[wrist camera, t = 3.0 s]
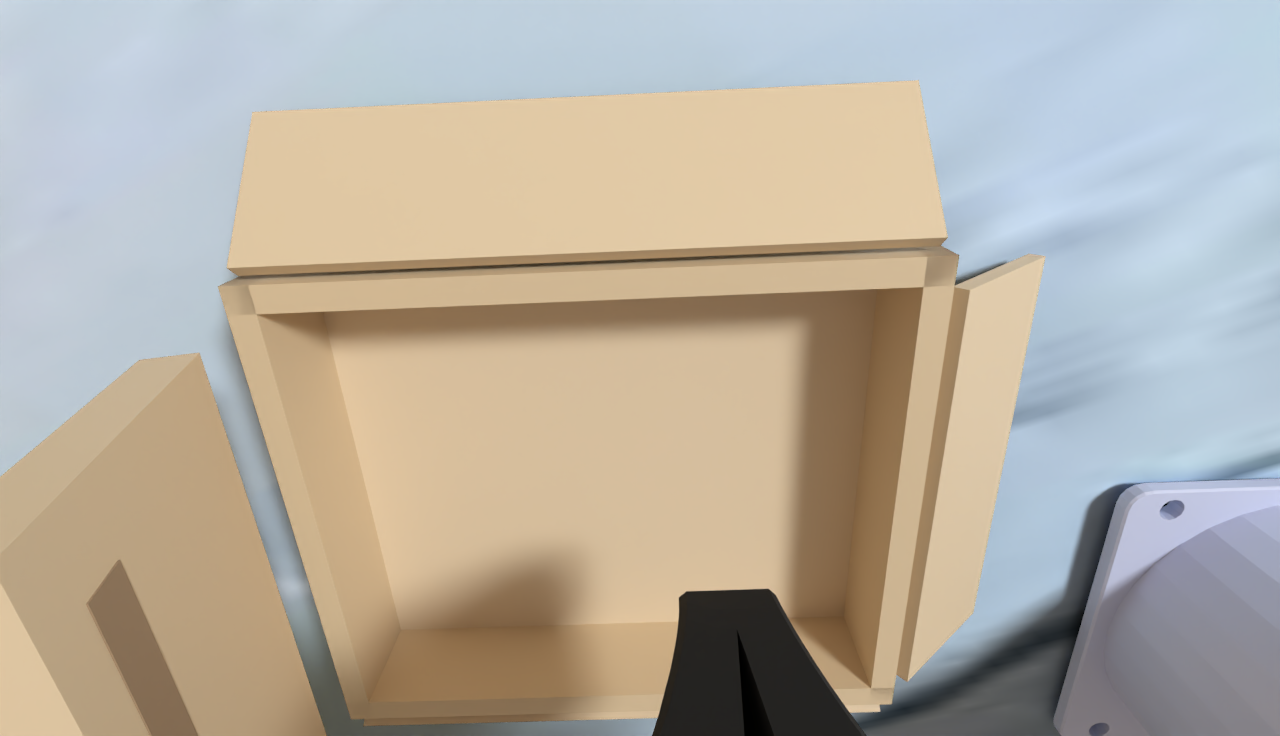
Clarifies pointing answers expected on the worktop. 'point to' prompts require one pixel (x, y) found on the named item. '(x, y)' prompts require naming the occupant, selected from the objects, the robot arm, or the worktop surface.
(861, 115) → the carton
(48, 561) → the flap
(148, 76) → the worktop surface
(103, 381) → the worktop surface
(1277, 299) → the worktop surface
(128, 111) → the worktop surface
